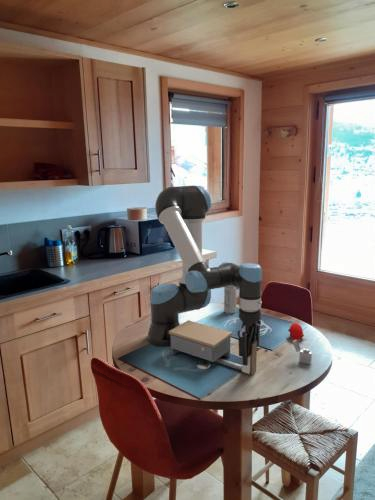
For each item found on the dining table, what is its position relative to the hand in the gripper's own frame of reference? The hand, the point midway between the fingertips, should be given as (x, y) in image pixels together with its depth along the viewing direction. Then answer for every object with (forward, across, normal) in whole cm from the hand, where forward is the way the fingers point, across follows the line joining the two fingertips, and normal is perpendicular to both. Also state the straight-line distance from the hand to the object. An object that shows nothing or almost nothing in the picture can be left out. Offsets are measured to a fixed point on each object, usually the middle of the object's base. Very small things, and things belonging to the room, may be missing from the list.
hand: (248, 369), depth 138 cm
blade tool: (+1, 0, +6) cm, 6 cm away
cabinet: (+1, 0, +21) cm, 21 cm away
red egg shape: (+1, +36, -4) cm, 37 cm away
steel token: (+1, -6, +16) cm, 17 cm away
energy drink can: (+1, +47, +34) cm, 58 cm away
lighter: (+1, +18, -13) cm, 22 cm away
